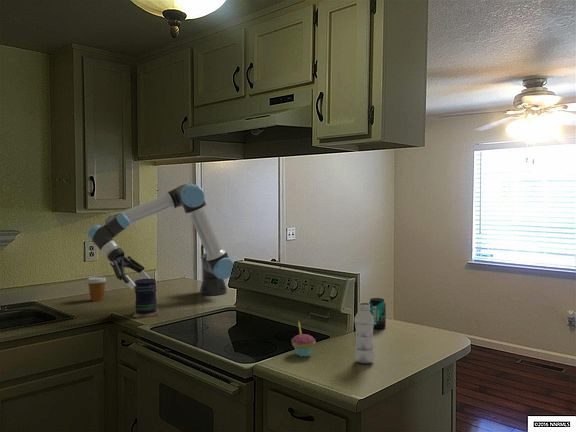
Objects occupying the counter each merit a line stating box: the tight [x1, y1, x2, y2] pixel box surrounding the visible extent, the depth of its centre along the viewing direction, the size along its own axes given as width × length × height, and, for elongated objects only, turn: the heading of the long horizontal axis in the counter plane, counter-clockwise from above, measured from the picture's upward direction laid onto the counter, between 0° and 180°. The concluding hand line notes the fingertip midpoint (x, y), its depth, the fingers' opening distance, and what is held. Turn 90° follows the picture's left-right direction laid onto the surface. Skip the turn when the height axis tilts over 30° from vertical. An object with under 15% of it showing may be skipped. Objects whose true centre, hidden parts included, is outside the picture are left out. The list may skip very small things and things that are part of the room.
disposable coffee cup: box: [86, 276, 107, 302], centre depth 267 cm, size 10×10×12 cm
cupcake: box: [290, 320, 317, 357], centre depth 177 cm, size 9×8×12 cm
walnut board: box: [132, 308, 160, 318], centre depth 236 cm, size 11×10×1 cm
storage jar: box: [134, 278, 158, 314], centre depth 236 cm, size 10×10×15 cm
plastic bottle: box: [354, 302, 376, 365], centre depth 168 cm, size 6×7×20 cm
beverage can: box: [368, 297, 387, 330], centre depth 209 cm, size 7×7×12 cm
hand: (141, 284), depth 236 cm, fingers open, 13 cm apart
